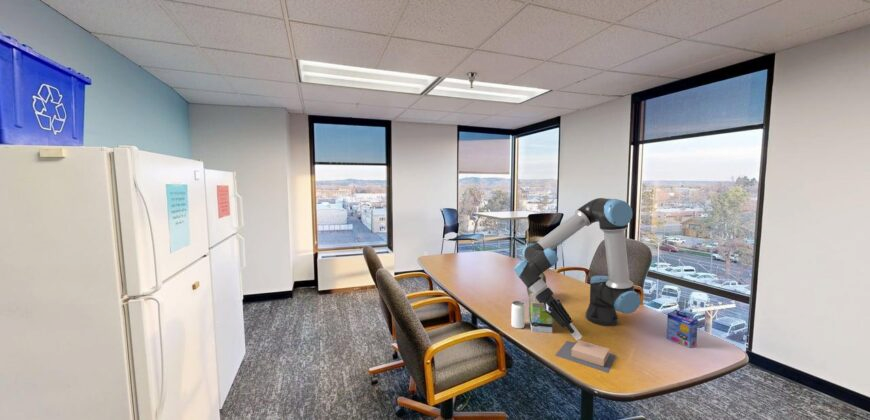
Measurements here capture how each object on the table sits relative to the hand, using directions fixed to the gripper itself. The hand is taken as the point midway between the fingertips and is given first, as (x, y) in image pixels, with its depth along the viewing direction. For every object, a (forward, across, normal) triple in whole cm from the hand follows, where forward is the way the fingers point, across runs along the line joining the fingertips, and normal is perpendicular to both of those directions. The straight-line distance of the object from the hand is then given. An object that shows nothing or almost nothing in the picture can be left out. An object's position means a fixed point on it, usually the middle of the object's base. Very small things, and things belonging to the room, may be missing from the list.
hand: (579, 338), depth 136 cm
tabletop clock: (-22, -48, -32) cm, 62 cm away
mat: (+7, 0, -3) cm, 7 cm away
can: (-17, -9, -28) cm, 34 cm away
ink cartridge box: (+28, -39, +18) cm, 52 cm away
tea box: (-11, -15, -21) cm, 28 cm away
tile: (+2, 0, -4) cm, 5 cm away
